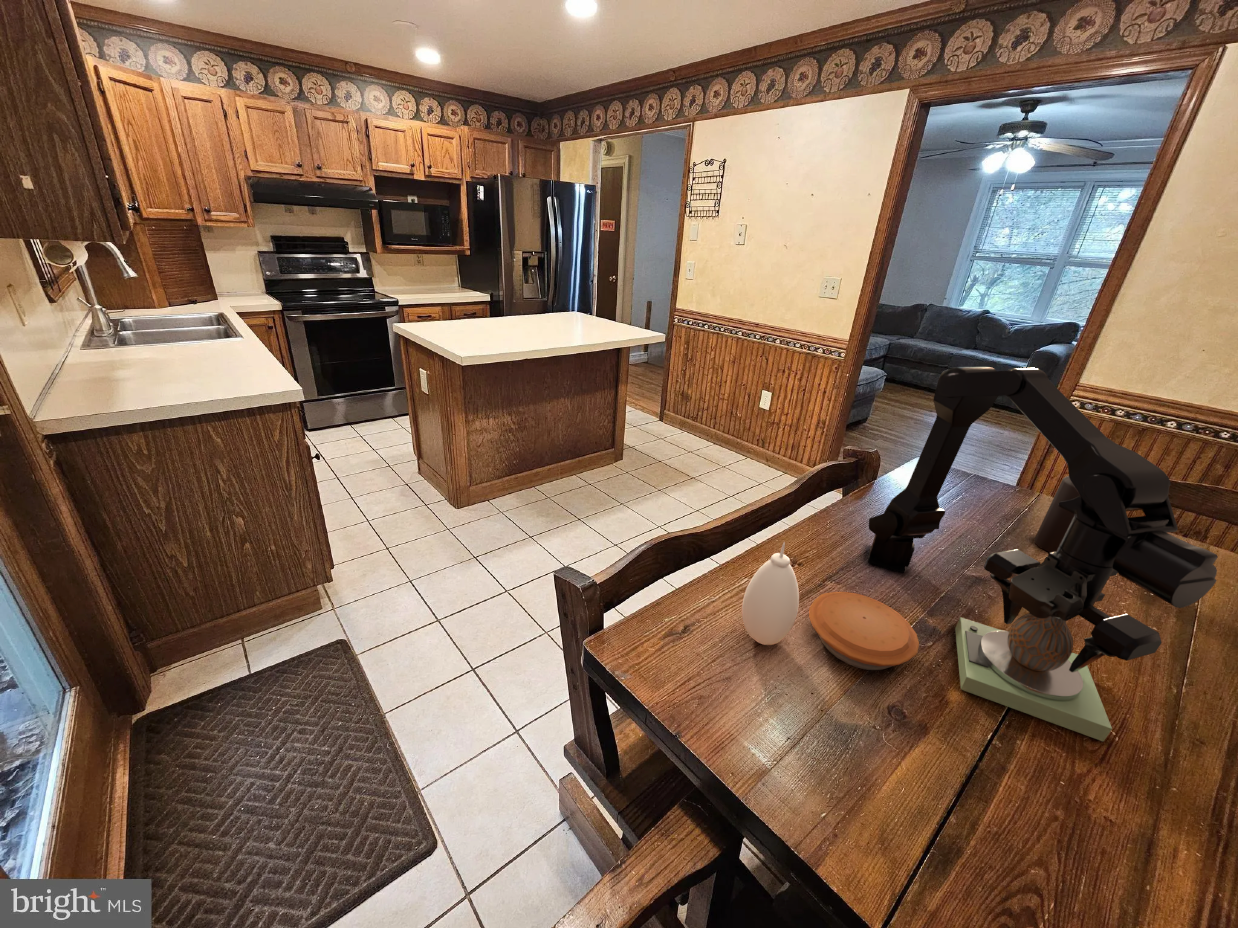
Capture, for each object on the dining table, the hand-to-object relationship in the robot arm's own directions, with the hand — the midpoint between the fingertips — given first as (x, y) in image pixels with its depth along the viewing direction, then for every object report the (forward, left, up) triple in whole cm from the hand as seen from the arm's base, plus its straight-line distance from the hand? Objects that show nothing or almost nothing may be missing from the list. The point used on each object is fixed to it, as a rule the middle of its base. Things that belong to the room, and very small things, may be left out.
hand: (1038, 645), depth 72 cm
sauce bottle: (-35, -12, -7) cm, 38 cm away
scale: (0, 0, -6) cm, 6 cm away
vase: (0, 0, -3) cm, 3 cm away
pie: (-22, -5, -7) cm, 24 cm away
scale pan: (0, 0, -4) cm, 4 cm away
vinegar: (+12, +47, -7) cm, 49 cm away
